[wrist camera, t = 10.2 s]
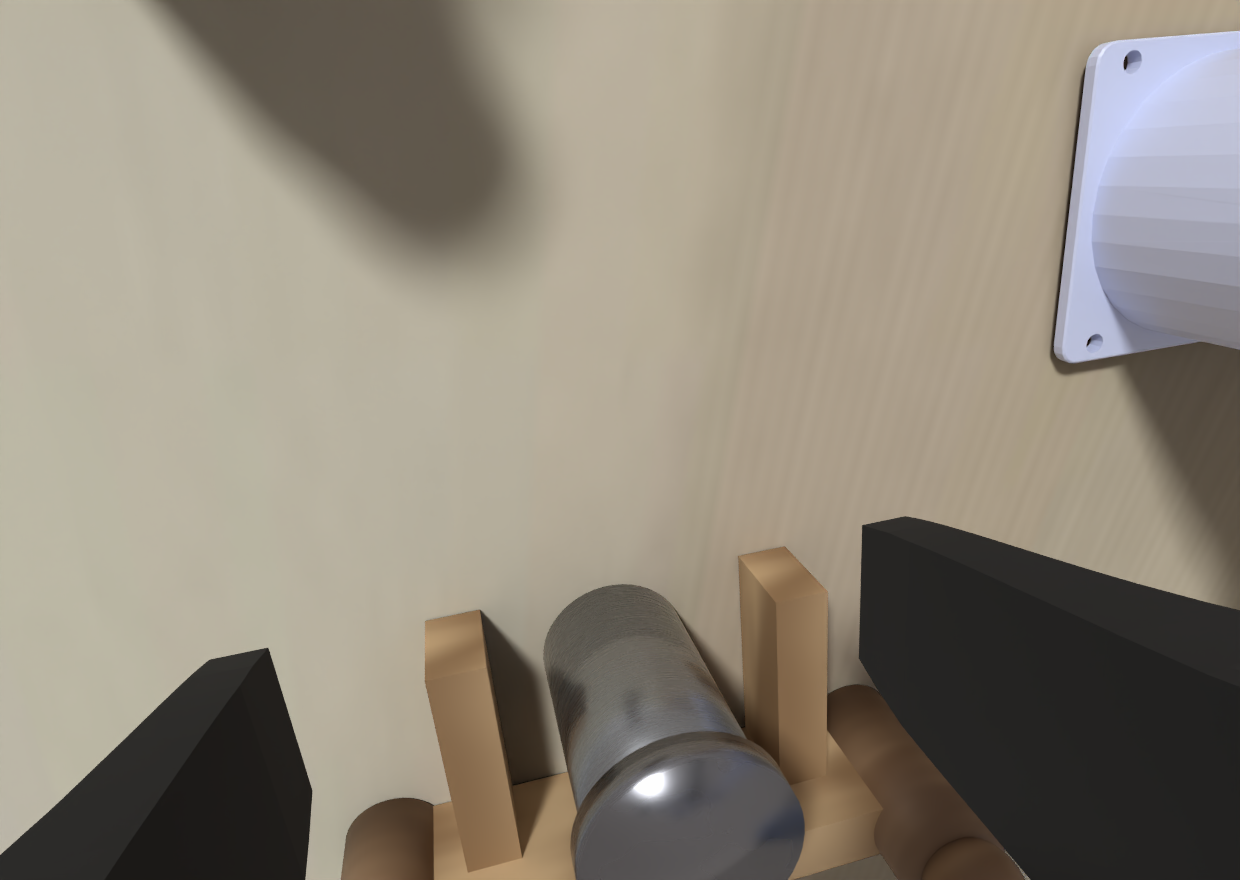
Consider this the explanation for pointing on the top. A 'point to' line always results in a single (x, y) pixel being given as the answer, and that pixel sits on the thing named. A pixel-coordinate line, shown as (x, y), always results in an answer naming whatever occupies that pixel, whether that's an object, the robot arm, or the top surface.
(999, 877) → the wooden rack
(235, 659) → the robot arm
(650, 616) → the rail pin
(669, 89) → the top surface
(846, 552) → the top surface
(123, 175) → the top surface
